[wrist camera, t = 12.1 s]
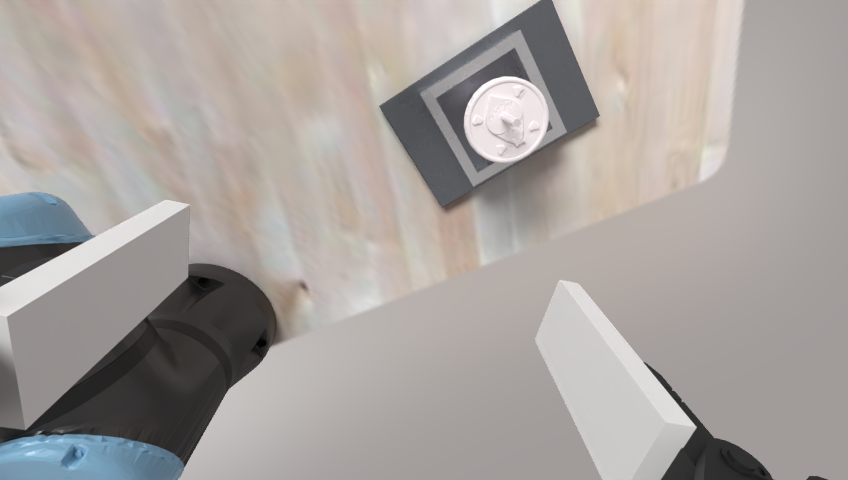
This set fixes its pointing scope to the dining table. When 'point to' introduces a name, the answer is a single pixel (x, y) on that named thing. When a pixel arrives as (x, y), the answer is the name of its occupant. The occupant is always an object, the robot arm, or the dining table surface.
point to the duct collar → (464, 74)
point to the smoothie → (506, 119)
